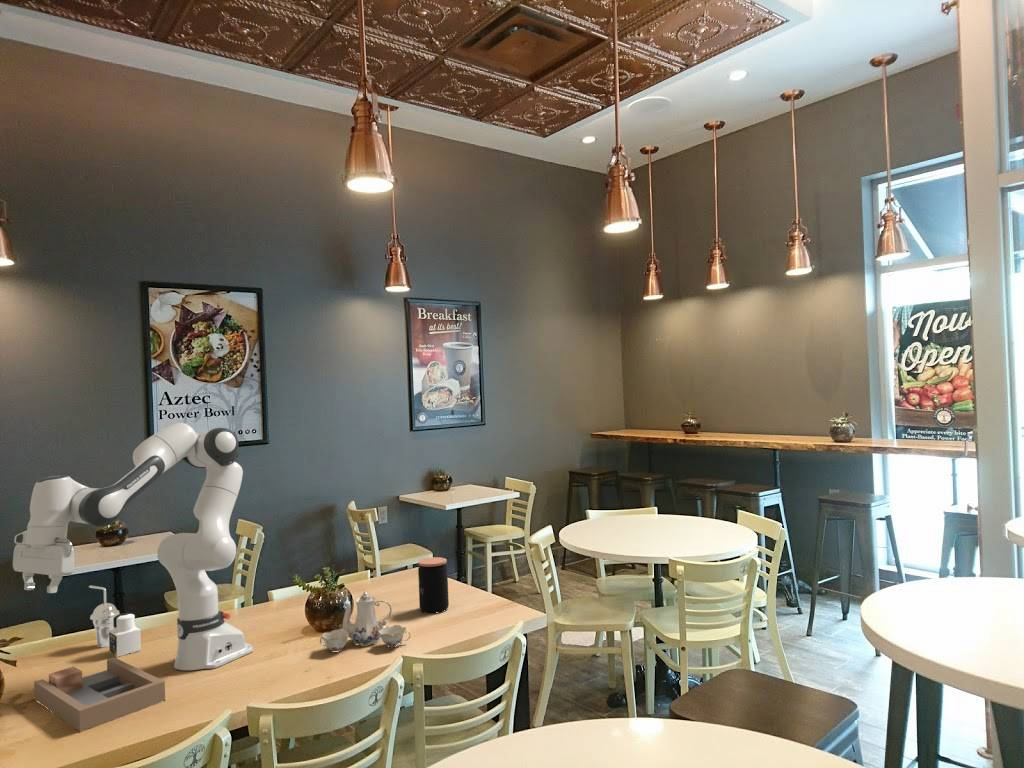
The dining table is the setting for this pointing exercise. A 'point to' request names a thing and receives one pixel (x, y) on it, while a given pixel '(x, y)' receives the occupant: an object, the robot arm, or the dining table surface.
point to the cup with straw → (103, 620)
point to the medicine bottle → (124, 635)
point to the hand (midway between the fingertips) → (40, 591)
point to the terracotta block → (66, 679)
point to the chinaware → (364, 627)
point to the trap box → (102, 695)
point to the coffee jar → (433, 584)
